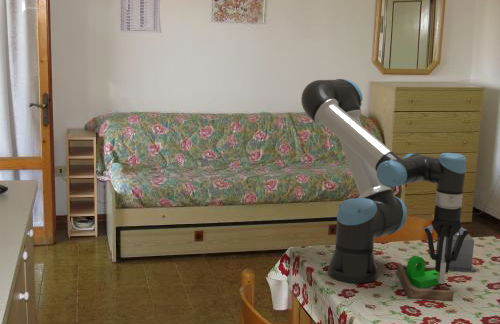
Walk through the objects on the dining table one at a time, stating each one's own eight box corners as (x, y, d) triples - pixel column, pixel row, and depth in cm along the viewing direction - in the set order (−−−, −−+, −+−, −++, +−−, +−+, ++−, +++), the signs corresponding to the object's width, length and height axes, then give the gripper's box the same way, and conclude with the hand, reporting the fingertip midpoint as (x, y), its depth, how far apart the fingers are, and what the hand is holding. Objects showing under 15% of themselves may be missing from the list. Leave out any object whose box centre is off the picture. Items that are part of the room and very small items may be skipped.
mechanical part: (419, 288, 199) (422, 262, 197) (405, 281, 204) (407, 256, 202) (448, 282, 205) (450, 257, 203) (434, 275, 210) (436, 251, 208)
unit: (443, 270, 215) (446, 237, 213) (437, 260, 225) (440, 228, 223) (475, 272, 214) (478, 239, 212) (467, 261, 224) (470, 230, 222)
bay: (408, 298, 191) (408, 288, 190) (396, 272, 212) (397, 263, 211) (452, 300, 190) (453, 290, 189) (437, 274, 211) (437, 265, 210)
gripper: (428, 208, 193) (421, 285, 197) (474, 210, 192) (465, 287, 196) (423, 201, 200) (416, 276, 204) (467, 203, 199) (459, 278, 204)
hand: (440, 281), depth 200 cm, fingers closed
